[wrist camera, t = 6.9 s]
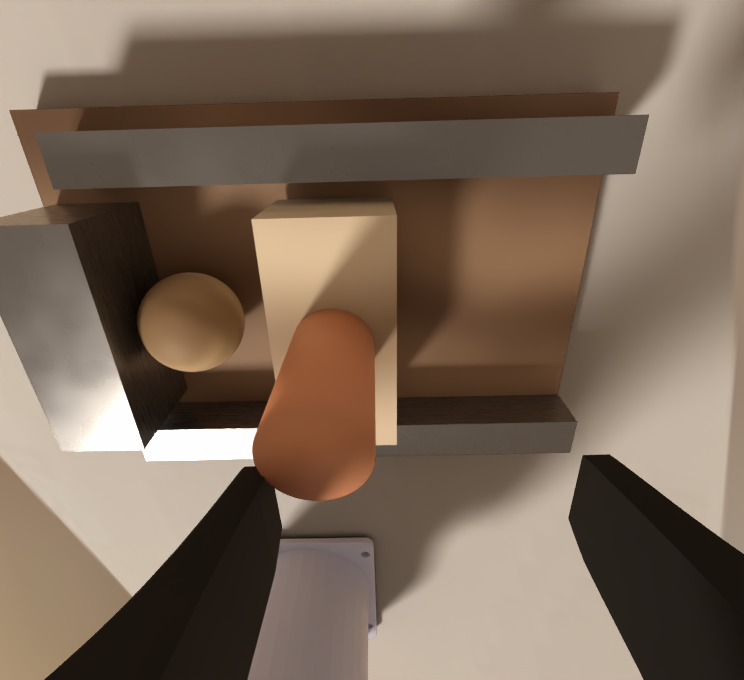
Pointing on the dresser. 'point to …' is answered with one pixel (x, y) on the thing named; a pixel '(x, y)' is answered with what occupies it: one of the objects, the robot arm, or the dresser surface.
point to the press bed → (241, 273)
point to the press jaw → (327, 342)
